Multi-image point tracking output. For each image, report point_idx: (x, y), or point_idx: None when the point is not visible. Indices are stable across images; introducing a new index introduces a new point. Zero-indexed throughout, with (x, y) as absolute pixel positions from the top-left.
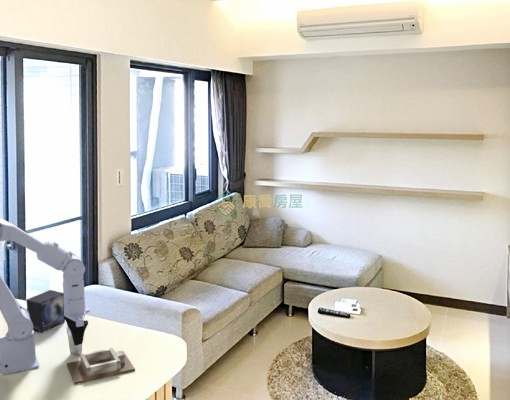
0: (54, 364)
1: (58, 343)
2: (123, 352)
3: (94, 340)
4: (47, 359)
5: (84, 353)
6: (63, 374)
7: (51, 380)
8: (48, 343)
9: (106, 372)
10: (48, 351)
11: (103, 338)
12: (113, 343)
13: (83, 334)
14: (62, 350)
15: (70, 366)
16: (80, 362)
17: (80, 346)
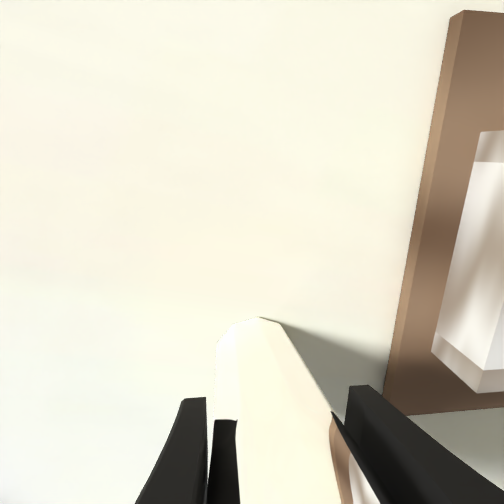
0: None
1: (33, 432)
2: (490, 18)
3: (68, 189)
4: None
5: (486, 366)
6: (464, 425)
7: (481, 469)
8: (10, 482)
9: None
10: (143, 481)
11: (48, 97)
12: (210, 37)
13: (466, 469)
14: (165, 416)
15: (438, 403)
16: (429, 352)
17: (304, 364)
